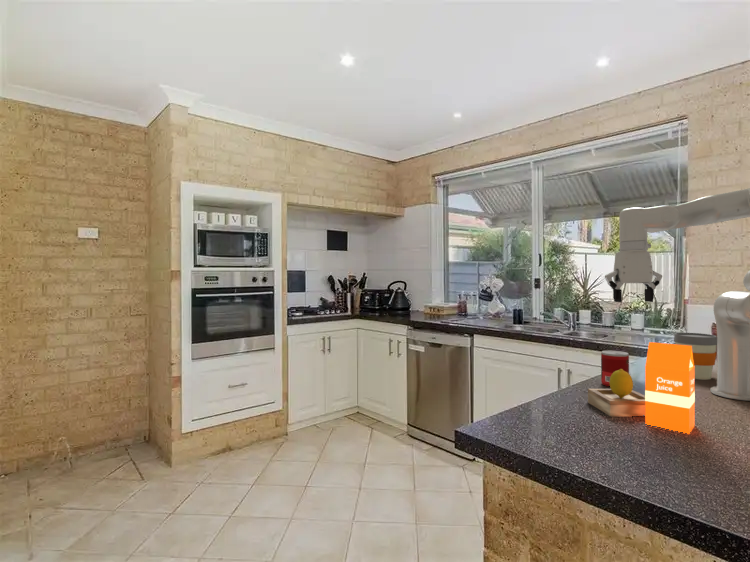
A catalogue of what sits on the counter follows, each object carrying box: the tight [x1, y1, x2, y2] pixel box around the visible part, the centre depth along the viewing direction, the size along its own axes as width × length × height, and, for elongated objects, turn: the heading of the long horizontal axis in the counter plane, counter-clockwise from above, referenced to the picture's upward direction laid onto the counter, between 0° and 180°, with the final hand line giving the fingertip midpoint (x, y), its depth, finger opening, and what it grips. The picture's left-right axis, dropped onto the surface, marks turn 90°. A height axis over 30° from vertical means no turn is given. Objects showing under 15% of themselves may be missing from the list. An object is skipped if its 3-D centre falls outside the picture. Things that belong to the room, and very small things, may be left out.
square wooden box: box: [587, 388, 645, 417], centre depth 114 cm, size 12×12×4 cm
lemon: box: [609, 369, 634, 398], centre depth 114 cm, size 6×6×8 cm
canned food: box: [600, 350, 630, 387], centre depth 138 cm, size 8×8×11 cm
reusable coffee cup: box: [673, 332, 717, 381], centre depth 149 cm, size 12×13×15 cm
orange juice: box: [644, 341, 696, 435], centre depth 101 cm, size 8×9×20 cm
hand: (633, 301), depth 131 cm, fingers open, 9 cm apart
